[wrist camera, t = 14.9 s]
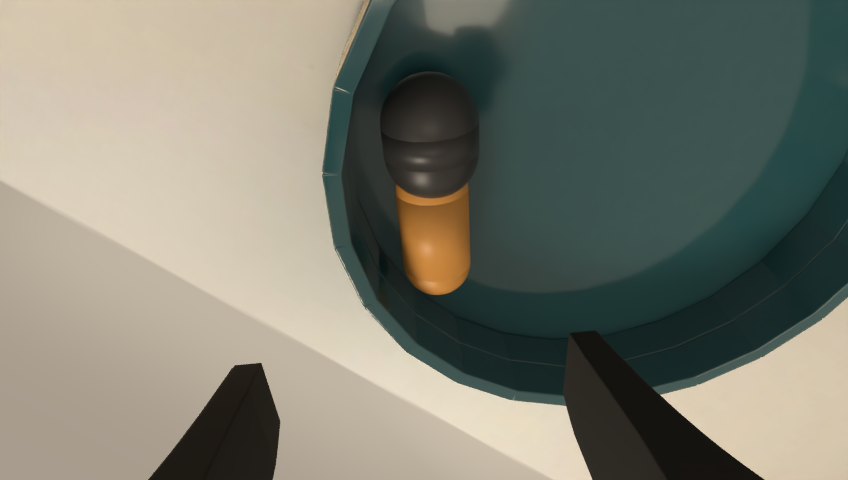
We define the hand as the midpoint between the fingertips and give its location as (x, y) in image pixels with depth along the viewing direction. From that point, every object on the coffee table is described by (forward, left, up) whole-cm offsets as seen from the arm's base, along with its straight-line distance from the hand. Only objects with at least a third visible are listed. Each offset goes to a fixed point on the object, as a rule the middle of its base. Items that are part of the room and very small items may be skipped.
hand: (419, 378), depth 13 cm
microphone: (0, -1, -9) cm, 9 cm away
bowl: (+6, -4, -10) cm, 13 cm away
